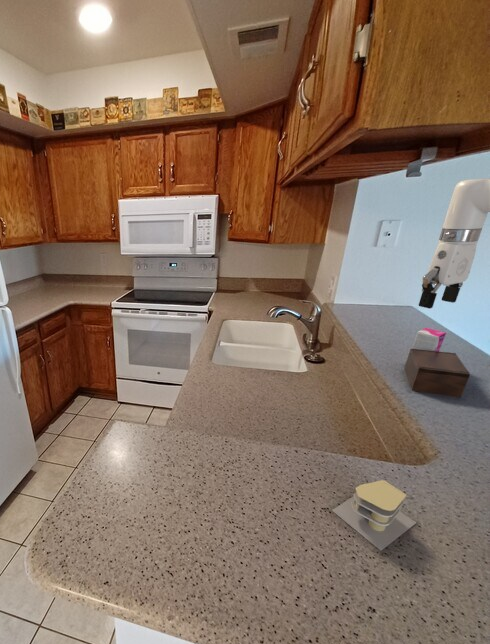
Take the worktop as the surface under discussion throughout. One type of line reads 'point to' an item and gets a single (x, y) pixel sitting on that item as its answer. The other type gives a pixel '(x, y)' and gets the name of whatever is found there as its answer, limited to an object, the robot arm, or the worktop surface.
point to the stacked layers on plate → (376, 513)
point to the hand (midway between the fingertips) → (436, 304)
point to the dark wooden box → (436, 372)
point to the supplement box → (429, 340)
